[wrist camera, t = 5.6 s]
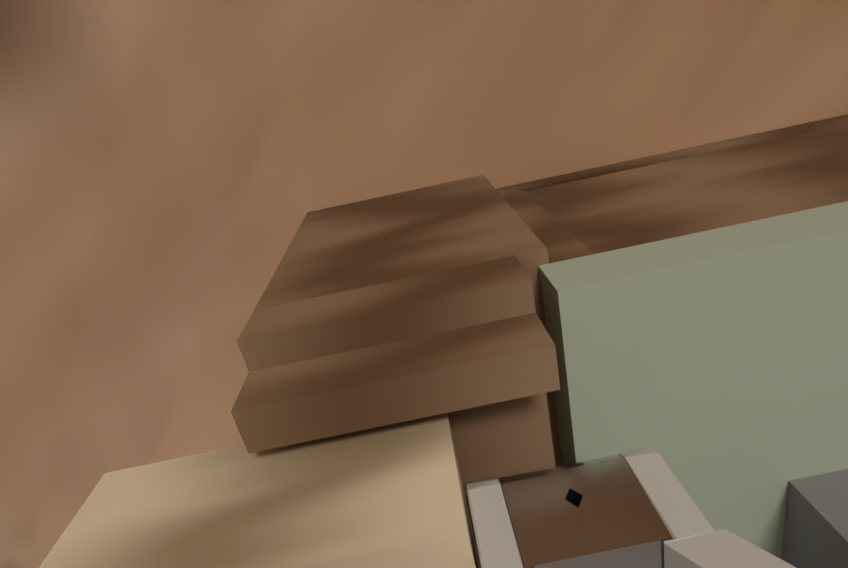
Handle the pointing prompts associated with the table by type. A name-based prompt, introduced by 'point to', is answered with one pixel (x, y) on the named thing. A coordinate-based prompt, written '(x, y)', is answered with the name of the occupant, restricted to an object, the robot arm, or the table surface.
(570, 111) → the table surface
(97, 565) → the beech bolt
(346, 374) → the walnut box
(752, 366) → the lid
